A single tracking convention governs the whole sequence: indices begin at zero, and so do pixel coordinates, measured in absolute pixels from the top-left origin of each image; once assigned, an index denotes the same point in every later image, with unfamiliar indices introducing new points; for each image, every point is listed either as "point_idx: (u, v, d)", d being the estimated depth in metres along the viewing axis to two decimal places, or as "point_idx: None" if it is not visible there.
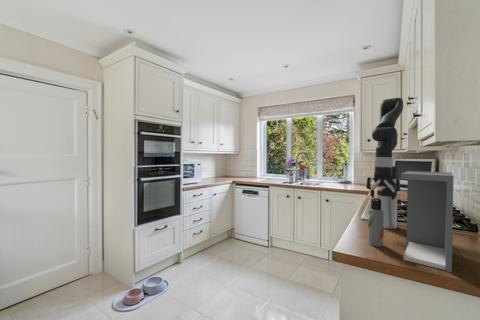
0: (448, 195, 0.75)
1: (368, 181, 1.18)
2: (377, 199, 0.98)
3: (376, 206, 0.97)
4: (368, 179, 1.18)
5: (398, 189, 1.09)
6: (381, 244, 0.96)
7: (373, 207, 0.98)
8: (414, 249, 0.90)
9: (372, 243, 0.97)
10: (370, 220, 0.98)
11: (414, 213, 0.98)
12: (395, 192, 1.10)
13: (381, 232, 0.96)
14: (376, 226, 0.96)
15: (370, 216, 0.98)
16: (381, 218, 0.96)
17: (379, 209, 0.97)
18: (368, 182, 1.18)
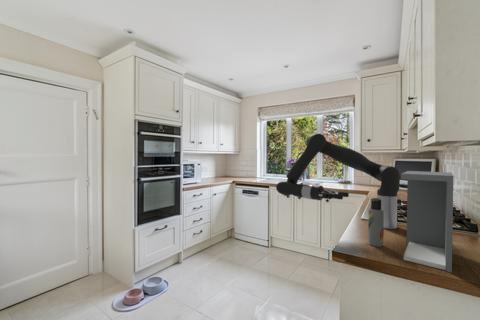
0: (448, 195, 0.75)
1: None
2: (377, 199, 0.98)
3: (376, 206, 0.97)
4: None
5: (329, 198, 1.05)
6: (381, 244, 0.96)
7: (373, 207, 0.98)
8: (414, 249, 0.90)
9: (372, 243, 0.97)
10: (370, 220, 0.98)
11: (414, 213, 0.98)
12: (333, 197, 1.05)
13: (381, 232, 0.96)
14: (376, 226, 0.96)
15: (370, 216, 0.98)
16: (381, 218, 0.96)
17: (379, 209, 0.97)
18: None
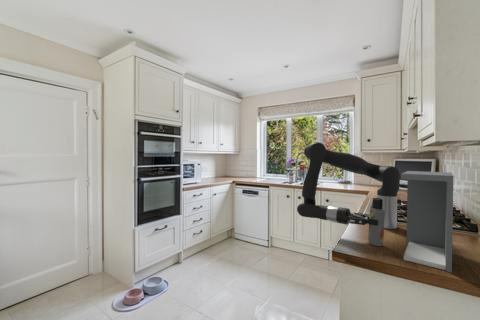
0: (448, 195, 0.75)
1: None
2: (379, 199, 0.99)
3: (377, 206, 0.97)
4: None
5: None
6: (381, 244, 0.96)
7: (374, 206, 0.98)
8: (414, 249, 0.90)
9: (372, 242, 0.97)
10: None
11: (414, 213, 0.98)
12: (367, 222, 0.98)
13: (381, 231, 0.96)
14: (377, 225, 0.96)
15: (371, 215, 0.98)
16: (382, 217, 0.96)
17: (380, 208, 0.97)
18: None
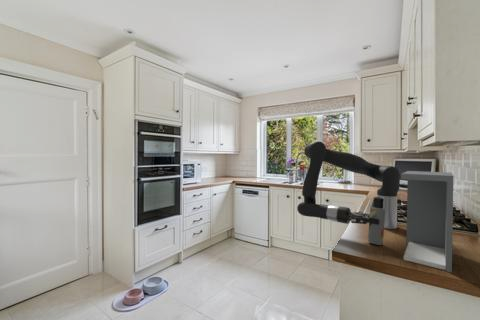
0: (448, 195, 0.75)
1: None
2: (379, 198, 1.00)
3: (379, 204, 0.98)
4: None
5: None
6: (381, 242, 0.97)
7: (376, 205, 0.99)
8: (414, 249, 0.90)
9: (373, 241, 0.97)
10: None
11: (414, 213, 0.98)
12: (368, 221, 0.98)
13: (382, 230, 0.97)
14: (378, 224, 0.97)
15: (372, 214, 0.99)
16: (383, 216, 0.97)
17: (381, 207, 0.98)
18: None
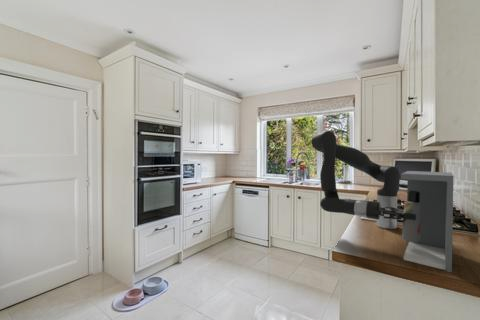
0: (448, 195, 0.75)
1: None
2: (415, 191, 0.92)
3: (415, 198, 0.90)
4: None
5: None
6: (418, 240, 0.89)
7: (411, 199, 0.91)
8: (414, 249, 0.90)
9: (408, 238, 0.89)
10: None
11: None
12: (403, 217, 0.90)
13: (419, 227, 0.89)
14: (415, 220, 0.89)
15: (407, 209, 0.91)
16: (420, 211, 0.89)
17: None
18: None
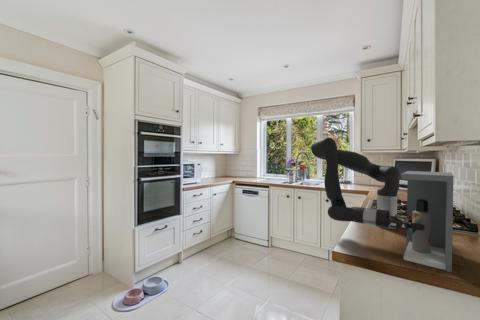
0: (448, 195, 0.75)
1: None
2: (423, 200, 0.88)
3: (423, 208, 0.87)
4: None
5: None
6: (429, 250, 0.86)
7: (419, 209, 0.88)
8: None
9: (419, 250, 0.87)
10: None
11: None
12: (411, 227, 0.86)
13: (429, 237, 0.86)
14: (425, 231, 0.86)
15: (416, 219, 0.88)
16: (429, 221, 0.86)
17: (426, 211, 0.87)
18: None
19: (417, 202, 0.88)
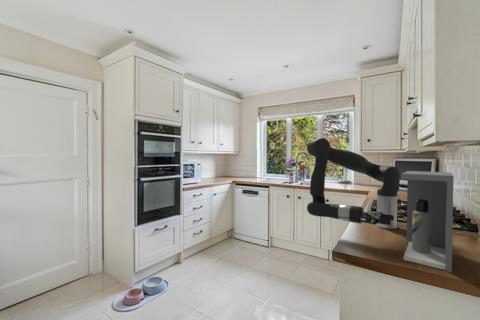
0: (448, 195, 0.75)
1: None
2: (423, 200, 0.88)
3: (423, 208, 0.87)
4: None
5: None
6: (429, 250, 0.86)
7: (420, 209, 0.87)
8: None
9: (419, 250, 0.87)
10: (416, 224, 0.88)
11: None
12: (379, 222, 0.93)
13: (429, 237, 0.86)
14: (425, 231, 0.86)
15: (416, 219, 0.88)
16: (429, 221, 0.86)
17: (427, 211, 0.87)
18: None
19: (417, 202, 0.88)
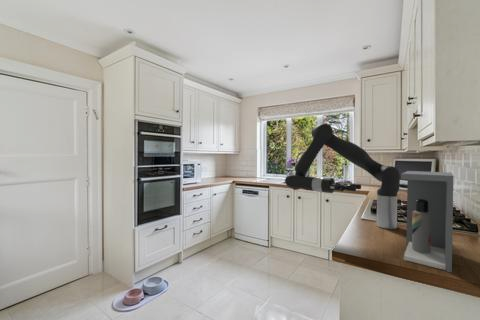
0: (448, 195, 0.75)
1: None
2: (423, 200, 0.88)
3: (423, 208, 0.87)
4: None
5: (341, 190, 1.02)
6: (429, 250, 0.86)
7: (420, 209, 0.87)
8: None
9: (419, 250, 0.87)
10: (416, 224, 0.88)
11: None
12: (346, 189, 1.02)
13: (429, 237, 0.86)
14: (425, 231, 0.86)
15: (416, 219, 0.88)
16: (429, 221, 0.86)
17: (427, 211, 0.87)
18: None
19: (417, 202, 0.88)
